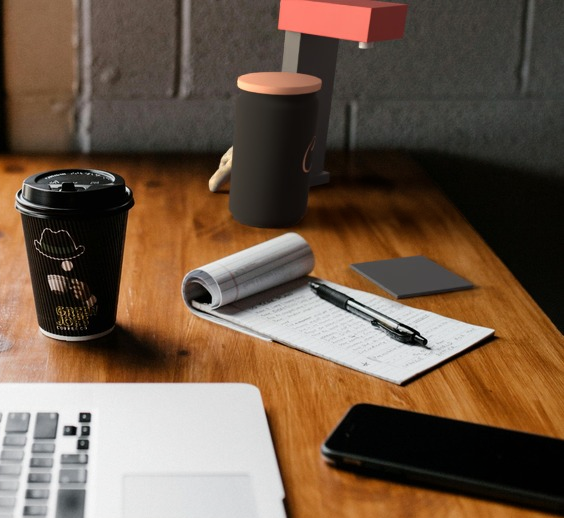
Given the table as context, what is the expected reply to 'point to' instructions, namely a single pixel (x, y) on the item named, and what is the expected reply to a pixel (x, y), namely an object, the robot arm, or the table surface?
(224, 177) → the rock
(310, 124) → the coffee jar
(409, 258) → the mat
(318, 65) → the coffee maker
